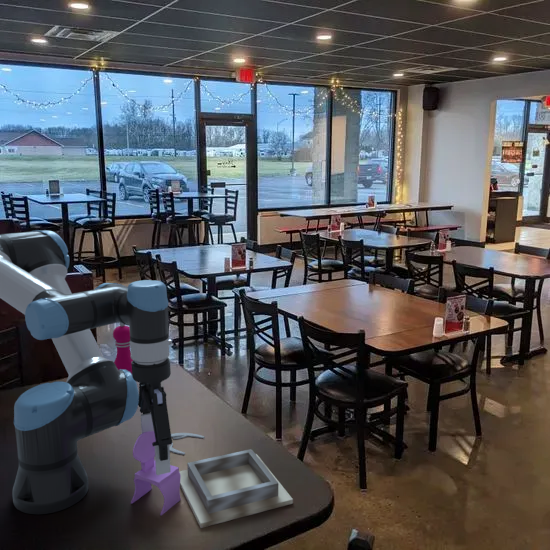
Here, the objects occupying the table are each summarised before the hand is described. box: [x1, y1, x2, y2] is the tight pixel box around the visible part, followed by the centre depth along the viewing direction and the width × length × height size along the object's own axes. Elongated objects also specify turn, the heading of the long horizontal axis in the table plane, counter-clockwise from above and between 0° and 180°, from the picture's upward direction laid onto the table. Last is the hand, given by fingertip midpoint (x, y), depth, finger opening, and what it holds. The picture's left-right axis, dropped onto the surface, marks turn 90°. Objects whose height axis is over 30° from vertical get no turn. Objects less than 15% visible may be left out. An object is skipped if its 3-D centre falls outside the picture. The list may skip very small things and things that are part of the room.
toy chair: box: [130, 431, 181, 516], centre depth 118 cm, size 8×9×15 cm
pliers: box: [169, 432, 206, 456], centre depth 145 cm, size 10×2×15 cm
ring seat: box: [179, 448, 294, 529], centre depth 123 cm, size 20×20×4 cm
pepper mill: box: [112, 323, 133, 374], centre depth 181 cm, size 7×7×20 cm
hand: (155, 456), depth 117 cm, fingers open, 13 cm apart
